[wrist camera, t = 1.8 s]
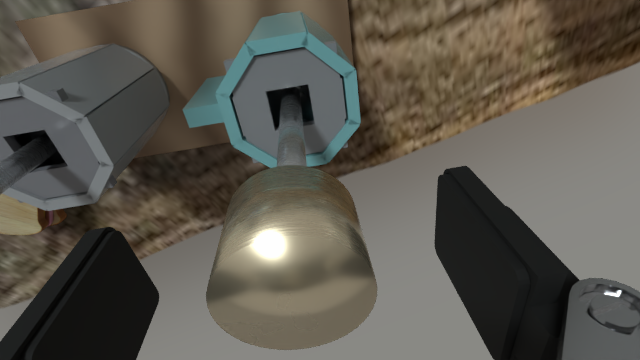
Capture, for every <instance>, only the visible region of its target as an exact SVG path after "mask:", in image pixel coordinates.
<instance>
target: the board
mask: <svg viewBox="0 0 640 360" xmlns="http://www.w3.org/2000/svg"><path fill="white" fill-rule="evenodd" d="M296 11H300V12H301V11H302V12H303V13H305V14H306V15H307V16H308V17H309V18H311V19H313V20H314V21H315V22H317V23H318V24H319V25H320V26H321V27H322V28H323V29H324V30H326V31H327V32H328V33H329V34H331V35H332V36H333V37H334V39H335V40H336V42H337V43H338V45H339V46H340V47H341V49H342V50H343V52H344V53H345V55H346V56H347V57H348V59H349V60H350V62H351V63H352V65H353V54H352V43H351V32H350V21H349V10H348V0H134V1H128V2H123V3H117V4H111V5H106V6H100V7H94V8H89V9H83V10H77V11H72V12H66V13H60V14H55V15H49V16H43V17H38V18H32V19H26V20H21V21H15V22H16V24H17V26H18V27H19V29H20V31H21V32H22V34H23V36H24V37H25V39H26V41H27V42H28V44H29V46H30V48H31V49H32V51H33V53H34V54H35V56H36V58H37V59H38V61H39V63H41V62H44V61H47V60H50V59H52V58H55V57H58V56H61V55H63V54H66V53H69V52H72V51H75V50H79V49H85V48H91V47H94V46H97V45H101V44H113V43H114V44H117V45H122V46H125V47H128V48H131V49H133V50H135V51H137V52H139V53H140V54H142V55H143V56H145V57H146V58H147V59H149V60H150V61H151V62H152V63H153V64H154V65H155V66H156V67H157V69H158V70H159V71H160V73H161V74H162V76H163V77H164V79H165V82H166V84H167V87H168V90H169V97H170V102H169V103H170V104H169V105H170V106H169V108H168V112H167V114H166V116H165V117H164V119H163V120H162V121H161V123H160V125H159V127H158V129H157V131H156V132H155V133H154V135H153V136H152V137H151V138H150V139H149V141H148V142H147V143H146V144H145V145H144V147H143V148H142V149H141V150H140V151H139V152H138V154H137V155H136V156H135V157H134V158H140V157H146V156H152V155H158V154H163V153H169V152H175V151H181V150H187V149H193V148H199V147H204V146H210V145H216V144H222V143H228V142H230V138H229V135H228V132H227V129H226V126H225V123H224V122H222V123H216V124H210V125H204V126H198V127H193V128H189V125H188V123H187V120H186V117H185V115H184V112H183V108H184V107H185V106H186V105H187V103H188V102H189V101H190V99H191V98H192V97H193V96H194V94H195V93H196V92H197V91H198V89H199V88H200V87H201V85H202V84H203V83H204V82H205V80H206V79H207V78H212V77H218V76H224V75H226V74H227V73H226V69H225V66H224V61H225V60H226V59H232V58H236V56H237V55H238V53H239V51H240V50H241V48H242V46H243V44H244V43H245V41H246V40H247V38H248V37H249V35H250V33H251V32H252V30H253V29H254V27H255V26H256V24H257V23H258V21H259V20H260V19H261V18H262V17H267V16H272V15H275V14H279V13H285V12H296ZM353 66H354V65H353ZM134 158H133V159H134Z"/></svg>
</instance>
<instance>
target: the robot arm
mask: <svg viewBox="0 0 640 360" xmlns="http://www.w3.org/2000/svg"><path fill="white" fill-rule="evenodd" d="M435 227H436V228H435V249H436V253H437V255H438V257H439V259H440V261H441V263H442V265H443V267H444V268H445V270H446V272H447V274H448V276H449V278H450V280H451V281H452V283H453V285H454V287H455V289H456V291H457V293H458V294H459V296H460V298H461V300H462V302H463V304H464V306H465V307H466V309H467V311H468V313H469V315H470V317H471V319H472V321H473V323H474V324H475V326H476V328H477V330H478V332H479V334H480V336H481V337H482V339H483V341H484V343H485V345H486V347H487V349H488V350H489V352H490V354H491V356H492V358H493V359H494V360H640V292H639V291H637V290H635V289H633V288H632V287H630V286H627V285H625V284H622V283H619V282H617V281H612V280H607V279H603V278H588V279H584V280H579V279H578V278H577V277H576V276H575V275H574V274H573V273H572V272H571V271H570V270H569V269H568V268H567V267H566V266H565V265H564V264H563V263H562V262H561V260H559V258H558V257H557V256H556V255H555V254H554V253H553V252H552V251H551V250H550V249H549V248H548V247H547V246H546V245H545V244H544V243H543V242H542V241H541V240H540V239H539V237H537V235H536V234H535V233H534V232H533V231H532V230H531V229H530V228H529V227H528V226H527V225H526V224H525V223H524V222H523V221H522V220H521V219H520V218H519V217H518V216H517V215H516V214H515V213H514V212H513V211H512V210H511V209H510V208H509V207H507V206H504V204H503V203H502V202H501V201H500V200H499V199H498V198H497V197H496V196H495V195H494V194H493V193H492V192H491V191H490V190H489V189H488V188H487V187H486V185H485V184H484V183H483V182H482V181H481V180H480V179H479V178H478V177H477V176H476V175H475V174H474V173H473V172H472V171H471V170H470V168H468V167H467V166H462V167H456V168H450V169H446V170H445V171H444V174H443V175H440V176H439V177H438V188H437V208H436V226H435ZM158 302H159V293H158V291H157V289H156V287H155V285H154V284H153V282H152V281H151V279H150V277H149V276H148V274H147V273H146V271H145V270H144V268H143V266H142V265H141V263H140V261H139V260H138V258H137V257H136V255H135V253H134V252H133V250H132V249H131V247H130V245H129V244H128V242H127V241H126V239H125V237H124V236H123V234H122V233H121V232H120V231H116V230H115V229H114V228H112V227H106V228H100V229H94V230H90V231H87V232H86V233H85V234H84V235H83V237H82V238H81V239H80V241H79V242H78V243H77V244H76V246H75V247H74V248H73V249H72V251H71V252H70V253H69V255H68V256H67V257H66V258H65V260H64V261H63V262H62V264H61V265H60V266H59V267H58V269H57V270H56V271H55V272H54V274H53V275H52V276H51V278H50V279H49V280H48V281H47V283H46V284H45V285H44V287H43V288H42V289H41V290H40V292H39V293H38V294H37V295H36V297H35V298H34V299H33V301H32V302H31V303H30V304H29V306H28V307H27V308H26V310H25V311H24V312H23V313H22V315H21V316H20V317H19V318H18V320H17V321H16V323H15V324H14V325H13V326H12V327H11V329H10V330H9V331H8V333H7V334H6V335H5V336H4V338H3V339H2V341H1V342H0V360H136V358H137V356H138V353H139V351H140V348H141V345H142V343H143V340H144V338H145V335H146V333H147V330H148V328H149V325H150V323H151V320H152V317H153V315H154V312H155V310H156V307H157V305H158Z"/></svg>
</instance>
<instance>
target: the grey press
mask: <svg viewBox="0 0 640 360" xmlns="http://www.w3.org/2000/svg"><path fill="white" fill-rule="evenodd" d="M169 102H170V97H169V90H168V87H167V84H166V82H165V79H164V77H163V76H162V74H161V73H160V71H159V70H158V69H157V67H156V66H155V65H154V64H153V63H152V62H151V61H150V60H149V59H147V58H146V57H145V56H143V55H142V54H140V53H139V52H137V51H135V50H133V49H131V48H128V47H125V46H122V45H117V44H114V43H113V44H101V45H97V46H94V47H91V48H85V49H79V50H75V51H72V52H69V53H66V54H63V55H61V56H58V57H55V58H52V59H50V60H47V61H44V62H41V63H38V64H36V65H33V66H30V67H27V68H24V69H22V70H19V71H16V72H13V73H10V74H8V75H5V76H2V77H0V161H2V160H3V159H5V158H6V157H8V156H9V155H11V154H12V153H14V152H16V151H17V150H19V149H20V148H22V147H23V145H22V144H21V143H20V142H19V140H18V138H17V137H16V135H17V134H22V133H28V132H34V131H40V130H45V131H46V133H47V134H48V136H49V137H50V139H51V141H52V142H53V144H54V145H55V147H56V148H57V150H58V151H59V153H60V154H61V156H62V157H63V159H64V161H65V162H66V163H62V164H56V165H50V166H49V165H47V164H45V163H43V162H42V163H41V164H40V165H38V166H37V167H36V168H35V169H33V170H32V171H31V172H29V173H28V174H27V175H25V176H24V177H23V178H21V179H20V180H19V181H18V182H16V183H15V184H14V185H12V186H11V187H10V188H8V189H7V190H6V191H4V192H3V193H2V194H4V195H7V196H9V197H12V198H14V199H17V200H18V201H19V202H20V203H23V202H25V203H27V204H30V205H32V206H35V207H37V208H40V209H42V210H45V211H46V210H47V211H51V210H57V209H63V208H69V207H75V206H81V205H87V204H93V203H96V202H97V201H98V200H99V199H100V198H101V196H102V195H103V194H104V193H105V192H106V190H107V189H108V188H112V187H114V185H115V184H116V183H117V181H116V179H117V177H118V176H119V175H120V174H121V173H122V171H123V170H124V169H125V168H126V167H127V166H128V164H129V163H130V162H131V161H132V160H133V158H134V157H135V156H136V155H137V154H138V152H139V151H140V150H141V149H142V148H143V147H144V145H145V144H146V143H147V142H148V141H149V139H150V138H151V137H152V136H153V135H154V133H155V132H156V131H157V129H158V127H159V125H160V123H161V121H162V120H163V119H164V117H165V116H166V114H167V112H168V108H169V106H170V105H169V104H170V103H169Z"/></svg>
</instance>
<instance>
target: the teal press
mask: <svg viewBox="0 0 640 360" xmlns="http://www.w3.org/2000/svg"><path fill="white" fill-rule="evenodd" d="M224 66H225V69H226V73H227V74H226V75H224V76H218V77H212V78H207V79H206V80H205V82H204V83H203V84H202V85H201V87H200V88H199V89H198V91H197V92H196V93H195V94H194V96H193V97H192V98H191V99H190V101H189V102H188V103H187V105H186V106H185V107H184V108H183V112H184V115H185V117H186V120H187V123H188V125H189V128H193V127H198V126H204V125H210V124H216V123H222V122H224V123H225V126H226V129H227V132H228V135H229V138H230V142H231V145H233V147H234V148H236V149H238V150H240V151H241V152H243V153H245V154H247V155H249V156H250V157H252V160H253V163H259V162H261V163H263V164H264V165H266V166H268V167H270V168H273V167H277V155H278V139H279V126H278V127H275V123H274V119H273V115H272V110H271V106H270V102H269V98H268V94H267V91H272V90H277V89H283V88H289V87H295V86H301V85H306V84H308V87H309V92H310V98H311V104H312V110H313V116H314V120H313V121H307V122H303V130H304V141H305V152H306V163H307V166H308V167H311V166H317V165H323V164H327V162H328V163H329V162H330V161H331V160H332V158H333V157H334V156H335V155H336V154H337V152H338V151H339V150H340V149H341V148H347V147H348V143H347V140H348V139H349V138H350V137H351V135H352V134H353V133H354V132H355V131H356V129H357V128H358V127H359V126H360V124H359V123H361V120H360V108H359V97H358V85H357V74H356V69H355V68H354V66H353V65H352V63H351V62H350V60H349V59H348V57H347V56H346V55H345V53H344V52H343V50H342V49H341V47H340V46H339V45H338V43H337V42H336V40H335V39H334V37H333V36H332V35H331V34H329V33H328V32H327V31H326V30H324V29H323V28H322V27H321V26H320V25H319V24H318V23H317V22H315V21H314V20H313V19H311V18H309V17H308V16H307V15H306V14H305V13H303V12H302V11H301V12H300V11H296V12H285V13H279V14H275V15H272V16H267V17H262V18H261V19H260V20H259V21H258V23H257V24H256V26H255V27H254V29H253V30H252V32H251V33H250V35H249V37H248V38H247V40H246V41H245V43H244V44H243V46H242V48H241V50H240V51H239V53H238V55H237V56H236V58H232V59H226V60H225V61H224Z"/></svg>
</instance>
